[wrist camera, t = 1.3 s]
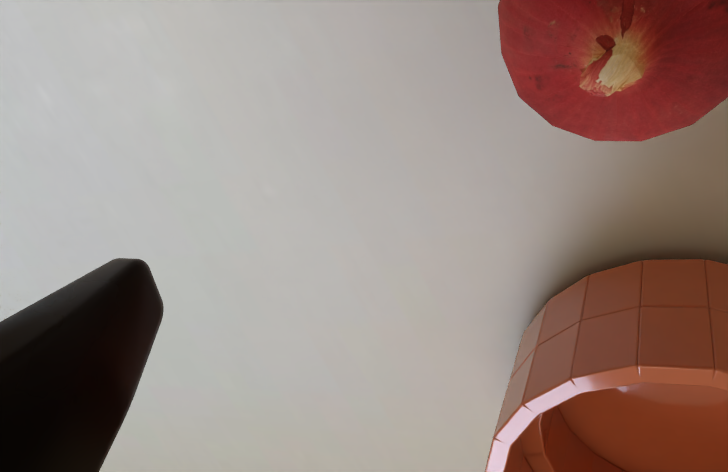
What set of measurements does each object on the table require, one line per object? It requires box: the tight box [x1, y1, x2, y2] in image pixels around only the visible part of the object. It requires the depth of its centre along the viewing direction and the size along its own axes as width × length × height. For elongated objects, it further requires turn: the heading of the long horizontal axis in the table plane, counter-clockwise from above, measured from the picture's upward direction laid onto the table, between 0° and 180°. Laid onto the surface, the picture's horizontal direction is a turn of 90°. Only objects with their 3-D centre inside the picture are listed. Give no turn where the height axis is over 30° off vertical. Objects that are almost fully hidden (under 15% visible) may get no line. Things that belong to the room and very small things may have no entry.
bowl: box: [485, 259, 728, 472], centre depth 21 cm, size 11×11×6 cm
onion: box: [498, 0, 728, 141], centre depth 15 cm, size 6×6×8 cm
